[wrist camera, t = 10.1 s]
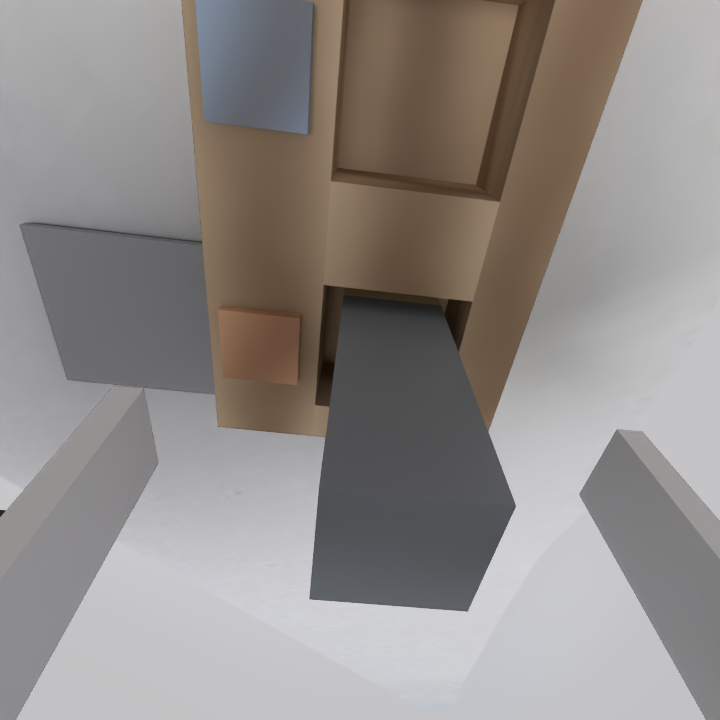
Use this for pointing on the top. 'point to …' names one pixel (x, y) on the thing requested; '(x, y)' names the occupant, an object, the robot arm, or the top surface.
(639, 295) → the top surface
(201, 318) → the mat
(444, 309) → the socket board
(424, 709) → the top surface
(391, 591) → the plug
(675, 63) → the top surface
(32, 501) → the robot arm
